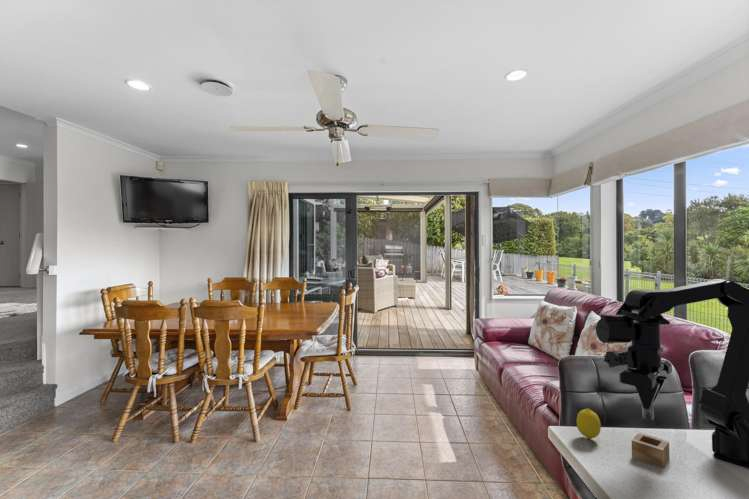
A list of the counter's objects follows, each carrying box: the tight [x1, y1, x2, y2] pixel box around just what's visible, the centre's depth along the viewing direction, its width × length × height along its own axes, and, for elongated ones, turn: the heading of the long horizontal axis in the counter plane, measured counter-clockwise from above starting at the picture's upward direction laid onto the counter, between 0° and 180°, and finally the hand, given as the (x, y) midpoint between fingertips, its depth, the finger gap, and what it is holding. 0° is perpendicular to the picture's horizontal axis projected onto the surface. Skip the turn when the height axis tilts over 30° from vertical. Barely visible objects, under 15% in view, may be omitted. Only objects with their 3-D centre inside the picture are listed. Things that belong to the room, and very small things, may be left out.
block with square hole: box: [631, 432, 670, 469], centre depth 86 cm, size 6×6×4 cm
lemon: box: [576, 408, 602, 440], centre depth 95 cm, size 6×6×8 cm
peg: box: [641, 402, 655, 421], centre depth 87 cm, size 2×2×8 cm
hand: (647, 407), depth 87 cm, fingers closed on peg, 2 cm apart
